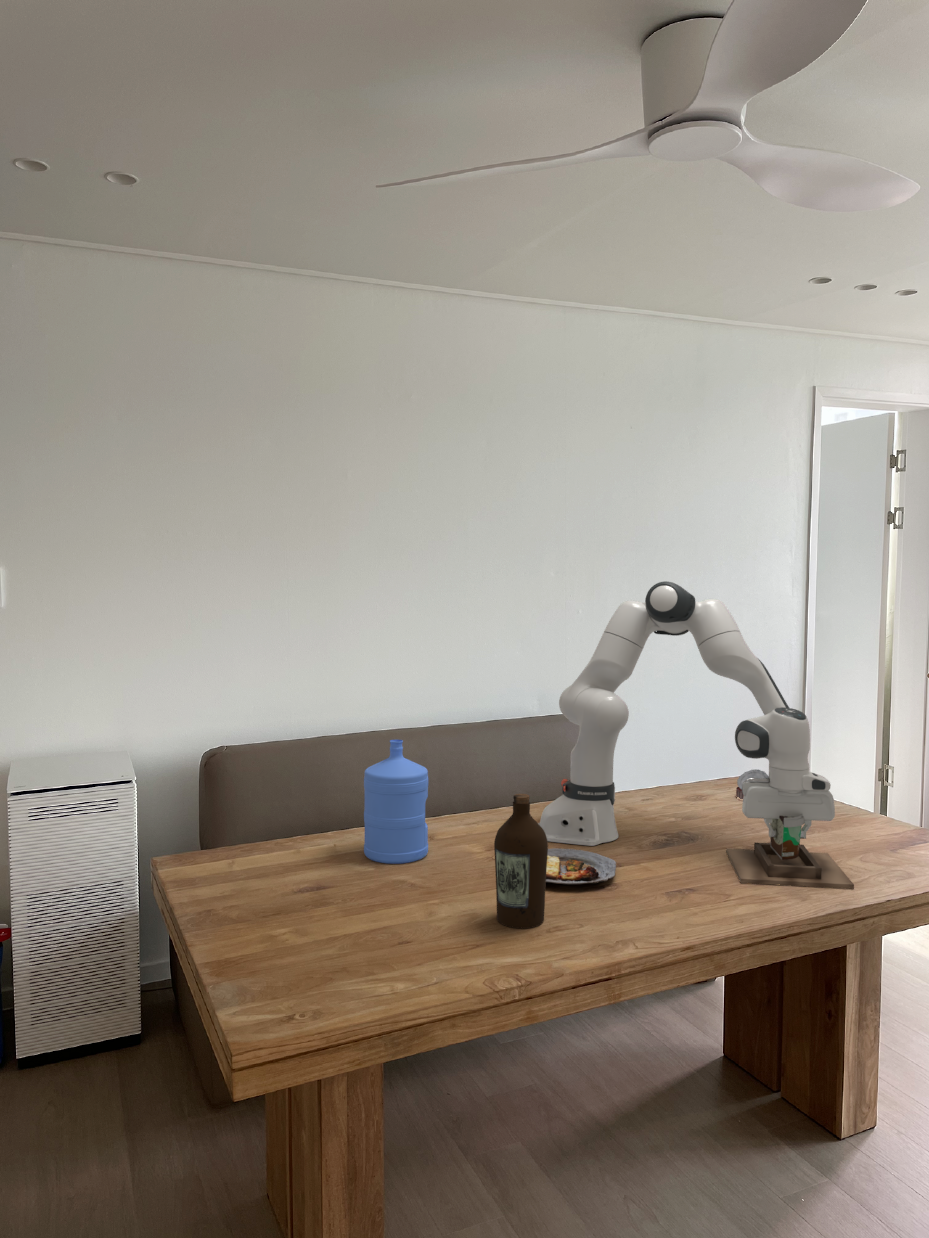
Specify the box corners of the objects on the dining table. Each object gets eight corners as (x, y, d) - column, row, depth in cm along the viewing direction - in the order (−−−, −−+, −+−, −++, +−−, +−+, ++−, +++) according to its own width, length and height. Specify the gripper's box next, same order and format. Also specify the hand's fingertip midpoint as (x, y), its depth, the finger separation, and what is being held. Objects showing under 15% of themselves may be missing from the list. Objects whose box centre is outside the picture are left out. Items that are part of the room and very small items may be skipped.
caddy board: (740, 883, 199) (741, 867, 199) (725, 852, 221) (726, 838, 221) (853, 889, 196) (854, 873, 196) (827, 857, 218) (828, 842, 218)
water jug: (399, 869, 208) (399, 749, 206) (350, 856, 217) (350, 741, 215) (441, 852, 220) (441, 739, 218) (393, 840, 229) (393, 732, 228)
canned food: (769, 814, 274) (784, 788, 270) (746, 814, 268) (761, 788, 264) (745, 789, 282) (760, 764, 278) (723, 790, 277) (737, 764, 273)
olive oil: (508, 905, 186) (508, 786, 184) (555, 915, 180) (556, 792, 179) (484, 923, 176) (485, 798, 175) (533, 934, 171) (535, 805, 170)
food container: (811, 862, 202) (812, 818, 202) (783, 861, 203) (784, 818, 202) (794, 845, 215) (795, 804, 214) (768, 844, 215) (769, 803, 214)
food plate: (613, 895, 191) (613, 879, 191) (505, 888, 196) (505, 872, 196) (617, 861, 216) (617, 847, 216) (521, 856, 220) (521, 841, 220)
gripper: (744, 780, 206) (743, 839, 207) (837, 783, 203) (836, 843, 204) (740, 774, 212) (738, 831, 213) (830, 777, 210) (828, 835, 210)
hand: (787, 837), depth 209 cm, fingers closed on food container, 5 cm apart
